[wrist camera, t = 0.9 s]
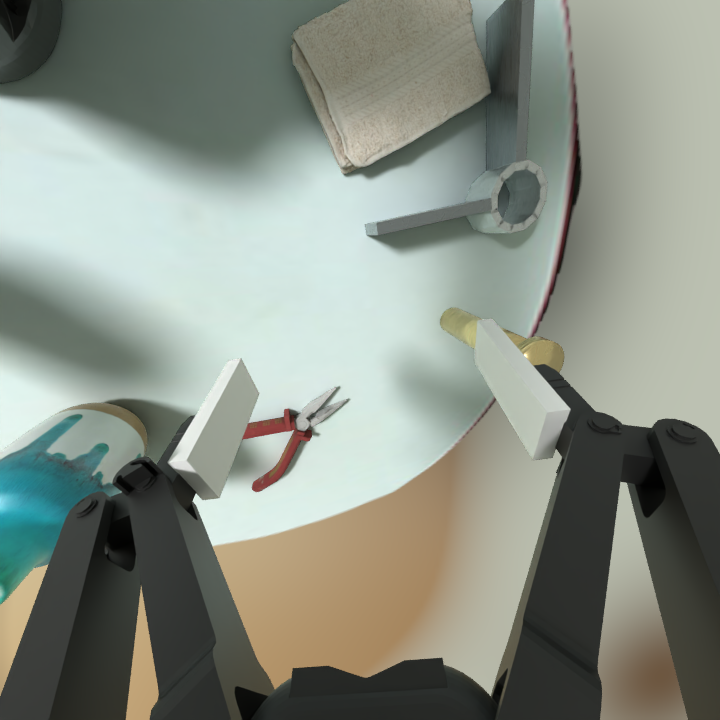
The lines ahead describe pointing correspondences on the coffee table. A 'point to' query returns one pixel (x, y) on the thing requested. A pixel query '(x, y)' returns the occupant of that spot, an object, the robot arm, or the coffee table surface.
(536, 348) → the hinge pin
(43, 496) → the vase
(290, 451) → the pliers
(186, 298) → the coffee table surface
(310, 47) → the washcloth
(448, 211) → the hinge
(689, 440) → the robot arm
